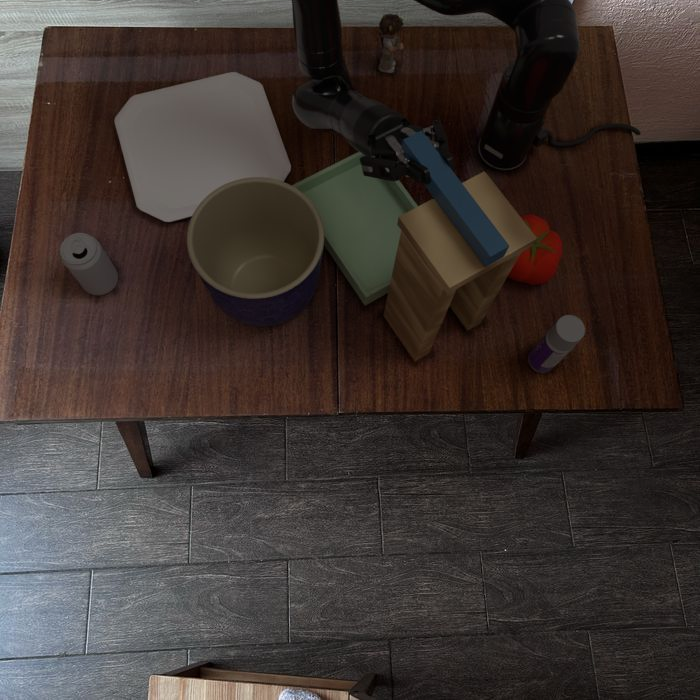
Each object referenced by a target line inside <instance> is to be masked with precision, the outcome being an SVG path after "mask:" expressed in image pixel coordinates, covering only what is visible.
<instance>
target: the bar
mask: <svg viewBox="0 0 700 700" xmlns="http://www.w3.org/2000/svg"><path fill="white" fill-rule="evenodd" d="M429 140H430V138H427V137H426V135H425V134H424V133H423V132H422V130H421V131H419V132H417V133H415V134H413V135H411V136H409V137H407V138H405V139H403V143H402V149H403V151H404V153H405V154H407V155H408V156H409V157H410V159H411V160H413V159H414V160H415V161H417V162H419V163H420V164H422V165H424V166H425V167H427V168H428V169H429V172H430V178H431V183H429V184H427V185H425V184H424V183H422V184H423V185H424V187H425V188H426V189H427V191H428V193H430V195H431V196H432V197H433V198H434V199H435V200H436V201H437V203H438V204H439V205H440V207H441V208H442V210H443V211H444V212H445V214H446V215H447V216H448V218H449V219H450V220H451V222H452V223H453V224H454V226H455V227H456V228H457V230H458V231H459V232H460V234H461V235H462V236H463V238H464V239H465V241H466V242H467V243H468V245H469V246H470V247H471V249H472V250H473V251H474V253H475V254H476V255H477V257H478V258H479V259H480V261H481V262H482V263H483V265H484V266H485V267H487V266H488V265H490V264H492V263H494V262H496V261H497V260H499V259H501V258H503V257H504V255H505V254H506V252H507V250H508V248H509V245H508V243H507V242H506V241H505V239H504V238H503V237H502V235H501V234H500V233H499V231H498V230H497V229H496V227H495V226H494V225H493V223H492V222H491V221H490V220H489V218H488V217H487V216H486V214H485V213H484V212H483V210H482V209H481V208H480V206H479V205H478V204H477V202H476V201H475V200H474V199H473V197H472V196H471V195H470V193H469V192H468V191H467V189H466V188H465V187H464V185H463V184H462V183H463V182H462V181H461V180H460V179H459V178H458V176H457V175H456V173H455V172H454V171H452V170H451V168H450V167H449V166H448V165H447V163H446V162H445V161H444V159H443V158H442V157H441V155H440V154H439V153H438V151H437V150H436V149H435V147H434V146H433V145H432V143H431V142H430V141H429Z"/></svg>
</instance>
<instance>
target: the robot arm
mask: <svg viewBox="0 0 700 700" xmlns="http://www.w3.org/2000/svg"><path fill="white" fill-rule="evenodd" d="M413 1H414V2H416V3H417V4H419V5H421V6H423V7H425V8H427V9H428V10H429V9H430V10H431V11H433V12H435V13H438V14H441V15H443V16H449V17H451V16H452V17H453V16H454V17H455V16H464V15H472V14H476V13H482V14H486V15H489V16H491V17H493V18H495V19H497V20H499V21H501V22H502V23H504V24H505V25H507V26H508V27H509V28H510V29H511V30H512V31H513V33H514V34H515V35H514V37H515V48H516V58H515V60H514V61H512V62H511V63H510V64H508V65H507V66H506V68H505V69H504V71H503V73H502V74H501V75H502V76H501V79H500V82H499V83H498V87H497V90H496V93H495V97H494V99H493V102H492V106H491V108H490V110H489V114H488V118H487V120H486V123H485V125H484V129H483V131H482V134H481V137H480V139H479V140H478V141H479V142H478V145H477V153H478V157H479V159H480V160H481V162H482V163H483V164H484V165H485V166H486V167H488V168H489V169H492V170H493V171H497V172H502V173H507V172H513V171H515V170H517V169H519V168H521V166H523V164H524V163H525V162H526V159H527V157H528V155H529V154H531V152H532V150H533V147H534V148H538V147H540V146H542V145H544V144H545V142H546V139H547V138H548V139H547V141H548V143H549V144H550V145H551V146H553V147H557V148H567V147H572V146H573V147H574V146H578V145H580V144H583V143H585V142H587V141H588V140H589V139H590V138H591V137H592V136H594V134H596V133H597V132H599V131H603V130H609V129H621V130H626V131H630V132H632V133H633V134H635V135H636V136H641V131H640V130H639V129H638V128H637V127H635V126H632V125H629V124H626V123H625V124H624V123H606V124H601V125H598V126H595V127H593V128H592V129H590V131H589V132H588V133H587V134H585V135H584V136H583V137H581V138H578V139H575V140H570V141H563V142H562V141H556V140H554V135H553V133H552V131H550V130H549V129H544V128H543V126H544V124H545V119H544V118H545V116H546V114H547V111H548V109H549V107H550V105H551V103H552V101H553V99H554V98H555V97H557V95H559V93H560V92H561V91H562V89H563V88H564V87H565V84H566V82H567V81H568V79H569V77H570V75H571V73H572V72H573V69H574V67H575V65H576V63H577V61H578V58H579V55H580V51H581V42H580V35H579V26H578V20H577V13H576V11H575V8H574V5H573V4H572V2H571V0H413ZM291 7H292V8H291V9H292V11H291V12H292V23H293V35H294V41H295V50H296V54H297V56H296V57H297V62H298V63H297V64H298V66H299V69H300V71H301V73H302V74H303V76H305V77H306V78H308V79H310V80H308V81H306V82H303V83H302V84H300V85H298V87H297V88H296V89H295V90H294V92H293V94H292V100H291V105H292V109H293V112H294V114H295V116H296V118H297V119H298V120H299V121H300V122H301V123H302V124H303V125H304V126H306V127H307V128H309V129H310V130H313V131H317V132H322V133H327V134H330V135H331V134H333V135H338V136H339V137H340V138H342V139H344V140H345V141H346V142H347V143H348V145H350V146H351V147H352V148H353V149H354V150H356V151H357V152H361V153H362V154H364V155H365V156H363V157H361V158H360V163H361V167H362V171H363V175H364V176H368V177H373V178H378V179H383V180H388V181H398V180H399V181H400V179H401V177H405V178H411V179H412V180H414V181H415V182H416V183H418V184H423V183H424V184H425V185H427V184H429V183H431V178H430V172H429V169H428V168H427V167H425V166H424V165H422V164H420V163H419V162H417V161H415V160H414V159H413V160H411V159H410V157H409V156H408V155H407V154H405V153H404V151H403V149H402V143H403V139H405V138H407V137H409V136H411V135H413V134H415V133H417V132H419V131H421V130H422V132H423V133H424V134H425V135H426V137H427V138H428V139H429V141H430V142H431V143H432V145H433V146H434V147H435V149H436V150H437V151H438V153H439V154H440V155H441V157H442V158H443V159H444V161H445V162H446V163H447V165H448V166H449V167H450V168H451V170H452V171H453V172H454V171H455V160H454V155H453V154H452V152H451V153H450V149H449V144H448V143H449V142H448V136H447V135H448V134H447V133H446V130H445V128H444V125H443V122H442V120H440V119H434V120H432V121H431V125H430V126H428V127H425V128H423V127H422V126H420V125H416V124H415V125H413V124H412V123H411V122H410V121H409V120H408V119H407V118H406V117H405V116H404V115H403V114H402V113H400V112H398V111H396V110H394V109H393V108H391V107H389V106H387V105H386V104H383V103H382V102H381V101H378V100H376V99H372V98H369V97H367V96H366V95H364V94H362V93H361V92H359V91H357V88H356V86H355V83H354V81H353V79H352V77H351V75H350V72H349V70H348V69H349V68H348V67H347V64H346V60H345V56H344V45H343V31H342V30H343V29H342V20H341V19H342V18H341V13H340V6H339V1H338V0H291ZM385 168H388V169H389V172H387V171H386V169H385ZM424 184H423V185H424ZM425 185H424V186H425Z"/></svg>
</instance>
